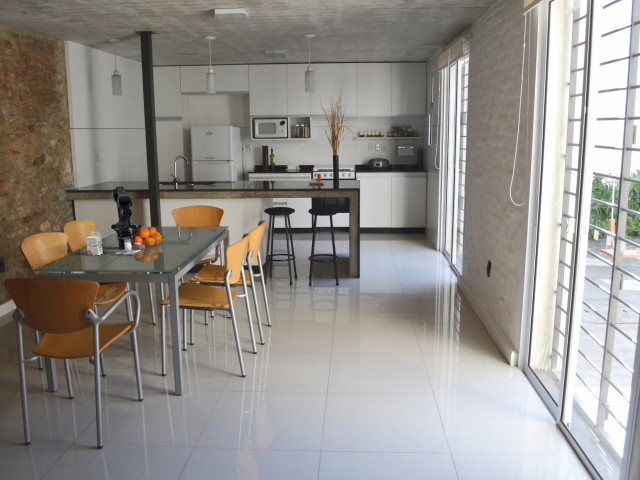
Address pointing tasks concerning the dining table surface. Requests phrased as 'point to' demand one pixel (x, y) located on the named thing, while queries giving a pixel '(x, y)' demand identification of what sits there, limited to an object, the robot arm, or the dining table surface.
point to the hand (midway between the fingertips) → (127, 239)
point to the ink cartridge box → (94, 244)
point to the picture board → (128, 253)
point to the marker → (127, 245)
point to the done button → (137, 243)
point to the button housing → (138, 247)
